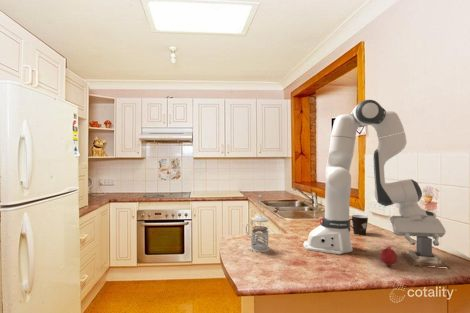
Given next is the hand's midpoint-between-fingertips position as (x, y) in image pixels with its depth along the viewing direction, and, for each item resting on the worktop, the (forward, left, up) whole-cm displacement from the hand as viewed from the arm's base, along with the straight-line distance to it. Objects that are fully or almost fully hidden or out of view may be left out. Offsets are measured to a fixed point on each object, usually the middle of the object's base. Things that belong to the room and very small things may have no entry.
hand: (425, 244), depth 118 cm
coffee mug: (-20, +41, -7) cm, 46 cm away
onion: (-16, -9, -7) cm, 20 cm away
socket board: (0, +1, -7) cm, 7 cm away
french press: (-70, -2, -7) cm, 70 cm away
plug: (0, +1, -6) cm, 6 cm away
